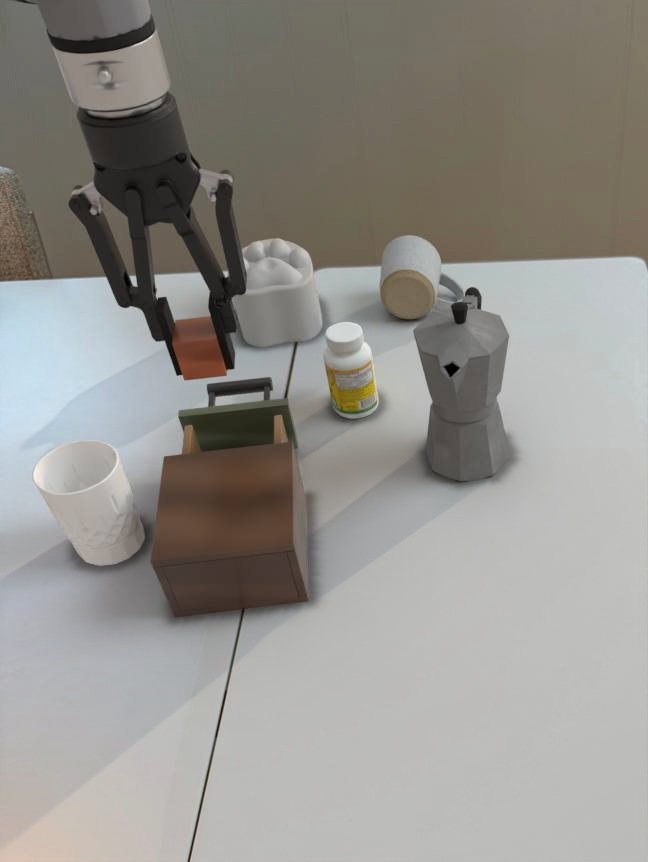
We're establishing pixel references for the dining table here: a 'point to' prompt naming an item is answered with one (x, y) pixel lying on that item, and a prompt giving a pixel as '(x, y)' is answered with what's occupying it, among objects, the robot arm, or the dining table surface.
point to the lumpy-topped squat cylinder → (278, 294)
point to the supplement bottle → (350, 371)
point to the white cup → (91, 500)
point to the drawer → (238, 419)
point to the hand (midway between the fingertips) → (206, 363)
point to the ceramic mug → (414, 278)
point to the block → (198, 349)
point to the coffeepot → (464, 388)
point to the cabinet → (231, 530)
